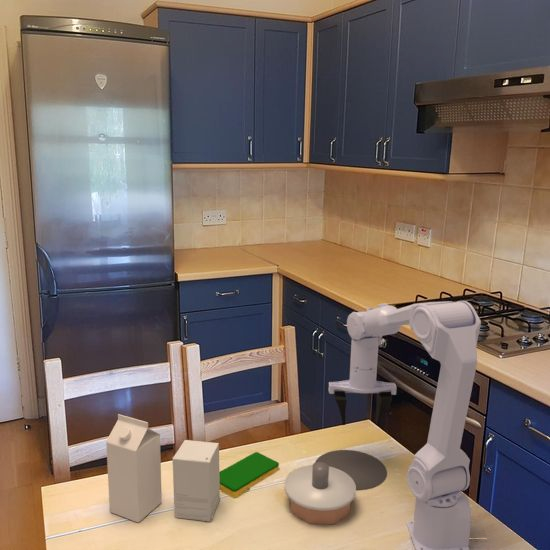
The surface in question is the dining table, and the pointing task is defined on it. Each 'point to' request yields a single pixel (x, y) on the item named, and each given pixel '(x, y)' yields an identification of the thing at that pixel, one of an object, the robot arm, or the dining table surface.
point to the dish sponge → (246, 474)
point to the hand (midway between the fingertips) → (360, 423)
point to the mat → (357, 467)
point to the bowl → (319, 514)
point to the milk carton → (133, 469)
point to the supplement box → (196, 480)
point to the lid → (320, 487)
